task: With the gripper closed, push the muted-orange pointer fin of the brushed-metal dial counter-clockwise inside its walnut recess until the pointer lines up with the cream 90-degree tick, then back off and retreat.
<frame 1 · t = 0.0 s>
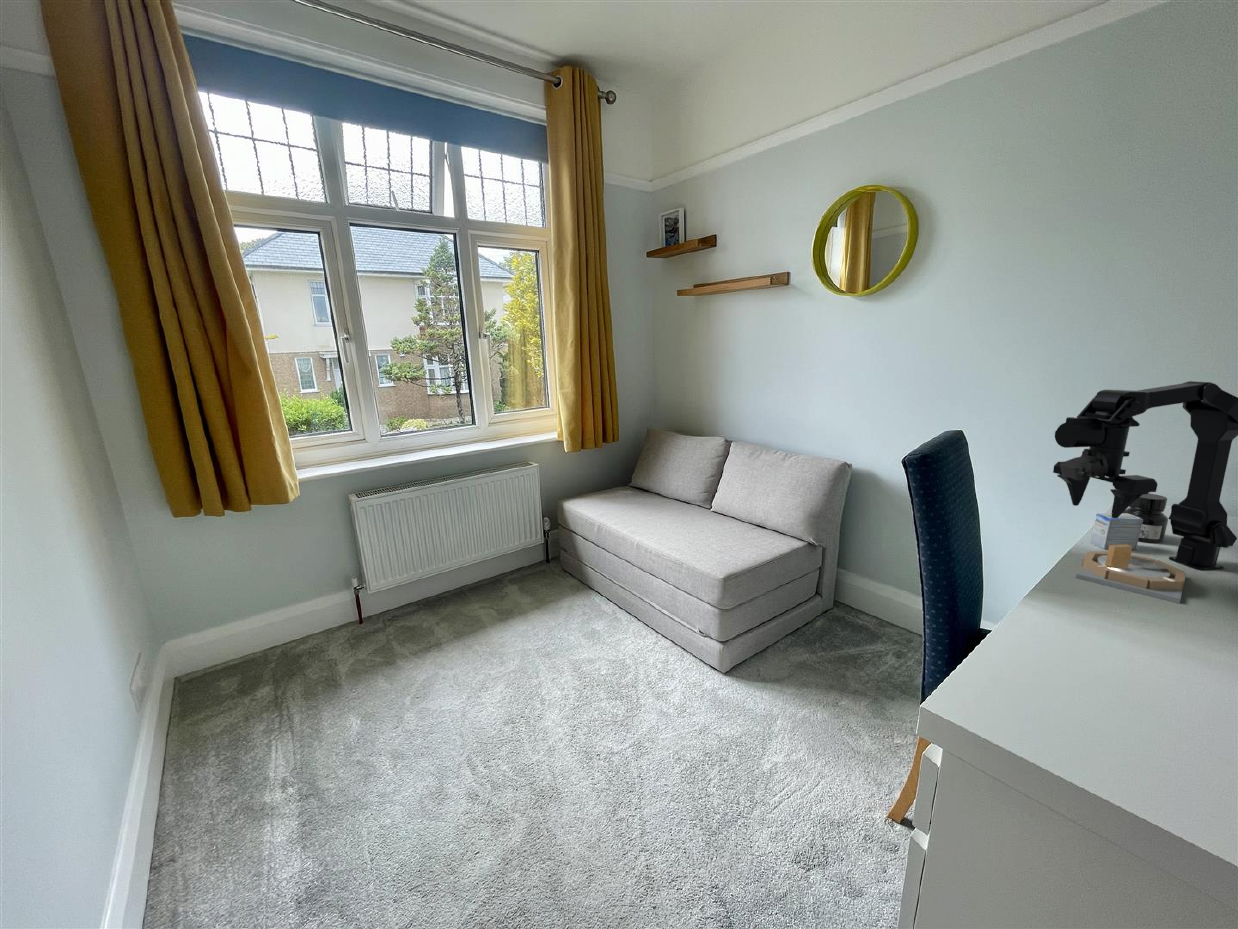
hand: (1094, 511, 114), 15 cm above the table, fingers open, 9 cm apart
ink bottle: (1139, 538, 135), on the table
dial plate: (1130, 577, 113), on the table
dial: (1133, 558, 112), point 5 cm above the table, hinge at 0.0°
medicine box: (1112, 547, 130), on the table
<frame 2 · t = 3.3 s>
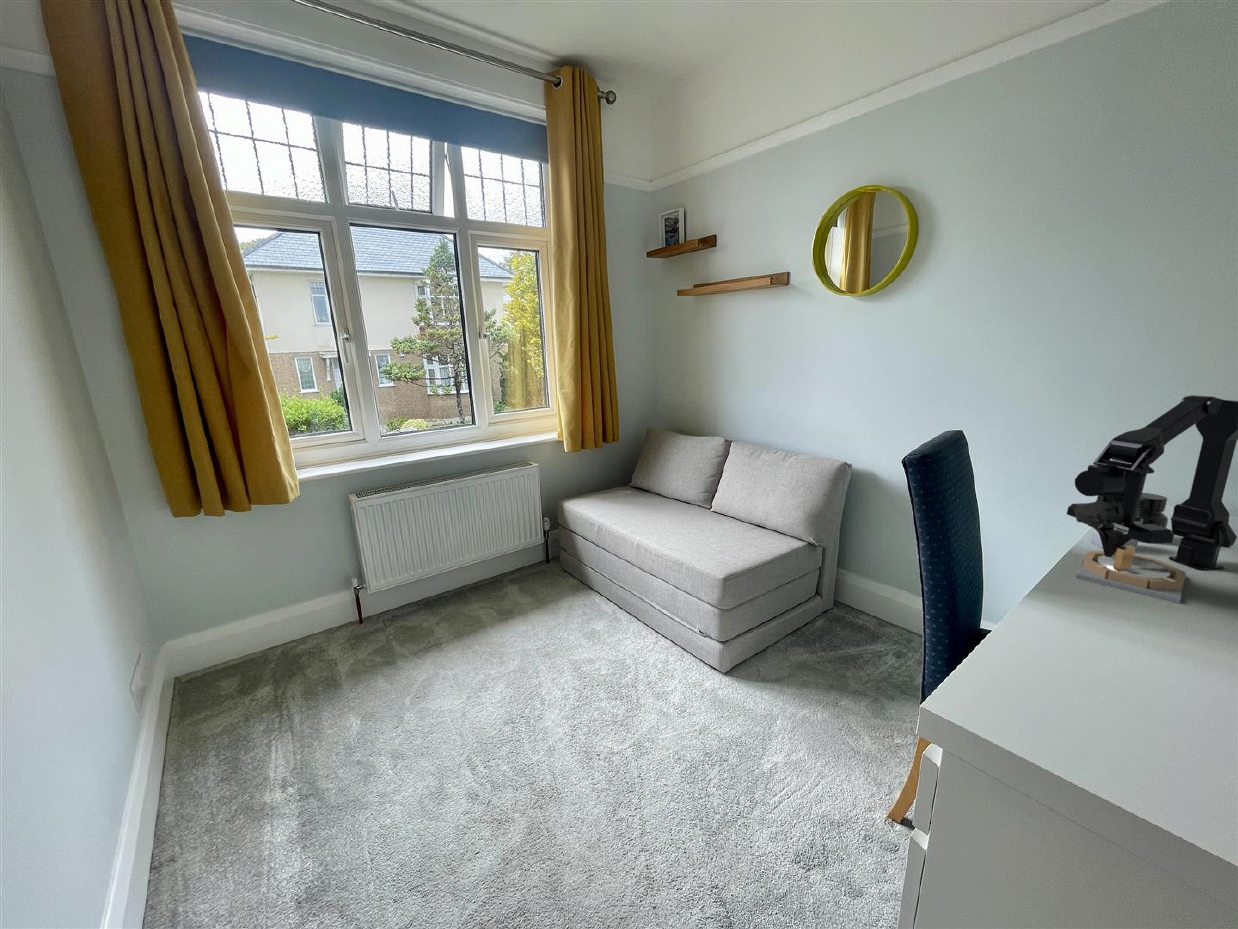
hand: (1108, 556, 113), 5 cm above the table, fingers closed
dial: (1134, 558, 112), point 5 cm above the table, hinge at 16.4°, touching gripper
everything else where it was.
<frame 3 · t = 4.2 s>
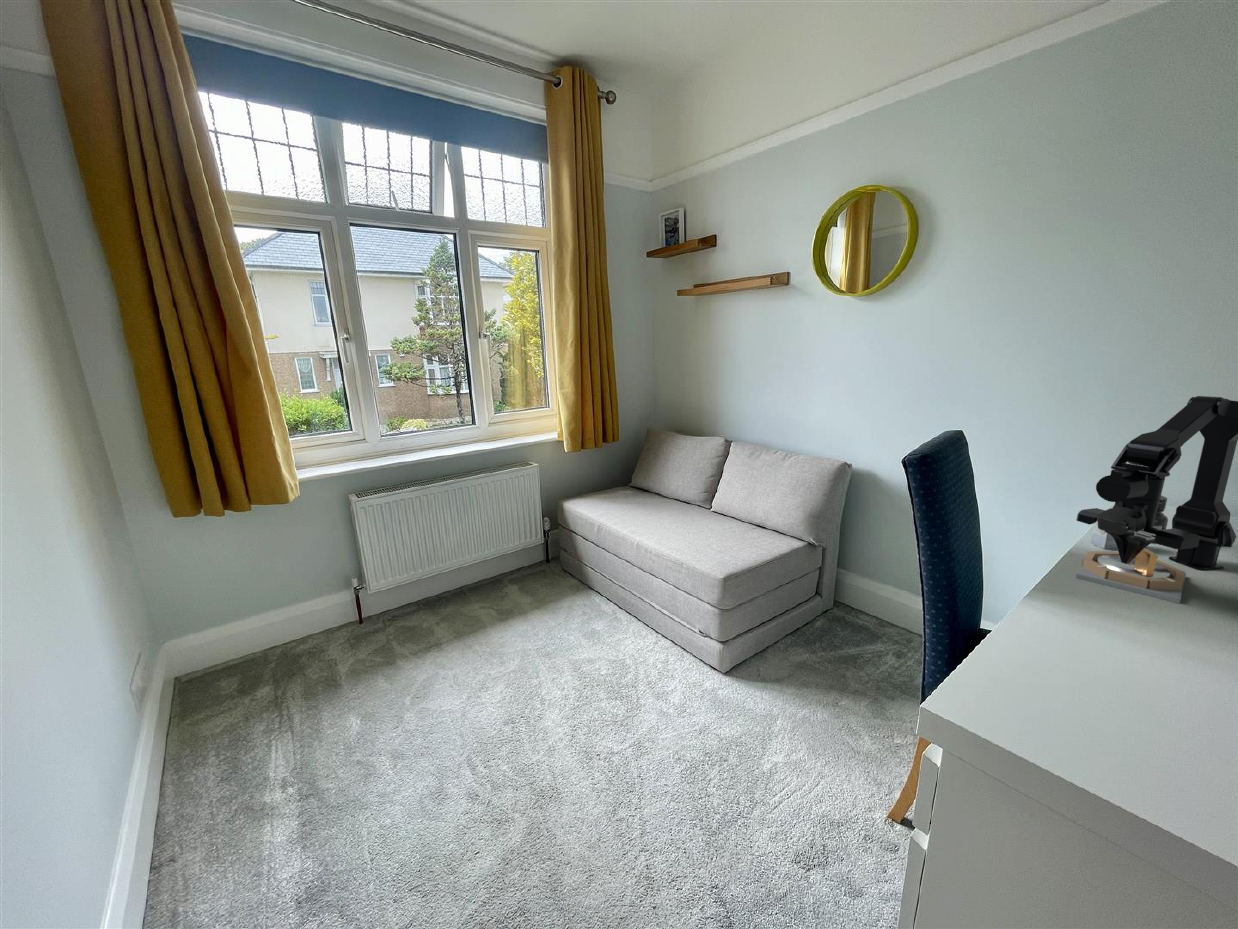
hand: (1125, 563, 110), 5 cm above the table, fingers closed
dial: (1134, 558, 112), point 5 cm above the table, hinge at 66.7°, touching gripper
everything else where it was.
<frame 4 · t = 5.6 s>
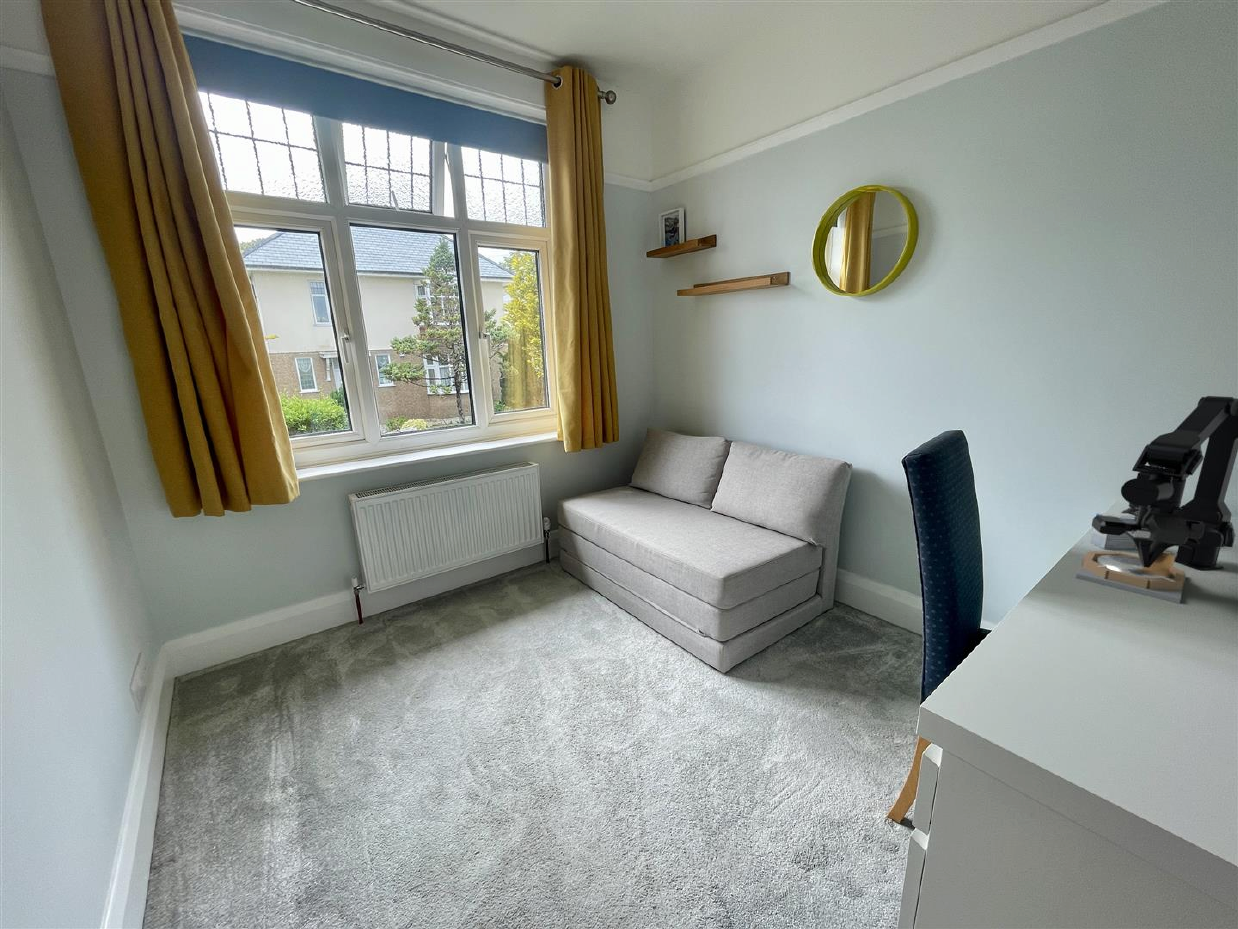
hand: (1145, 566, 108), 5 cm above the table, fingers closed
dial: (1134, 558, 112), point 5 cm above the table, hinge at 109.6°
everything else where it was.
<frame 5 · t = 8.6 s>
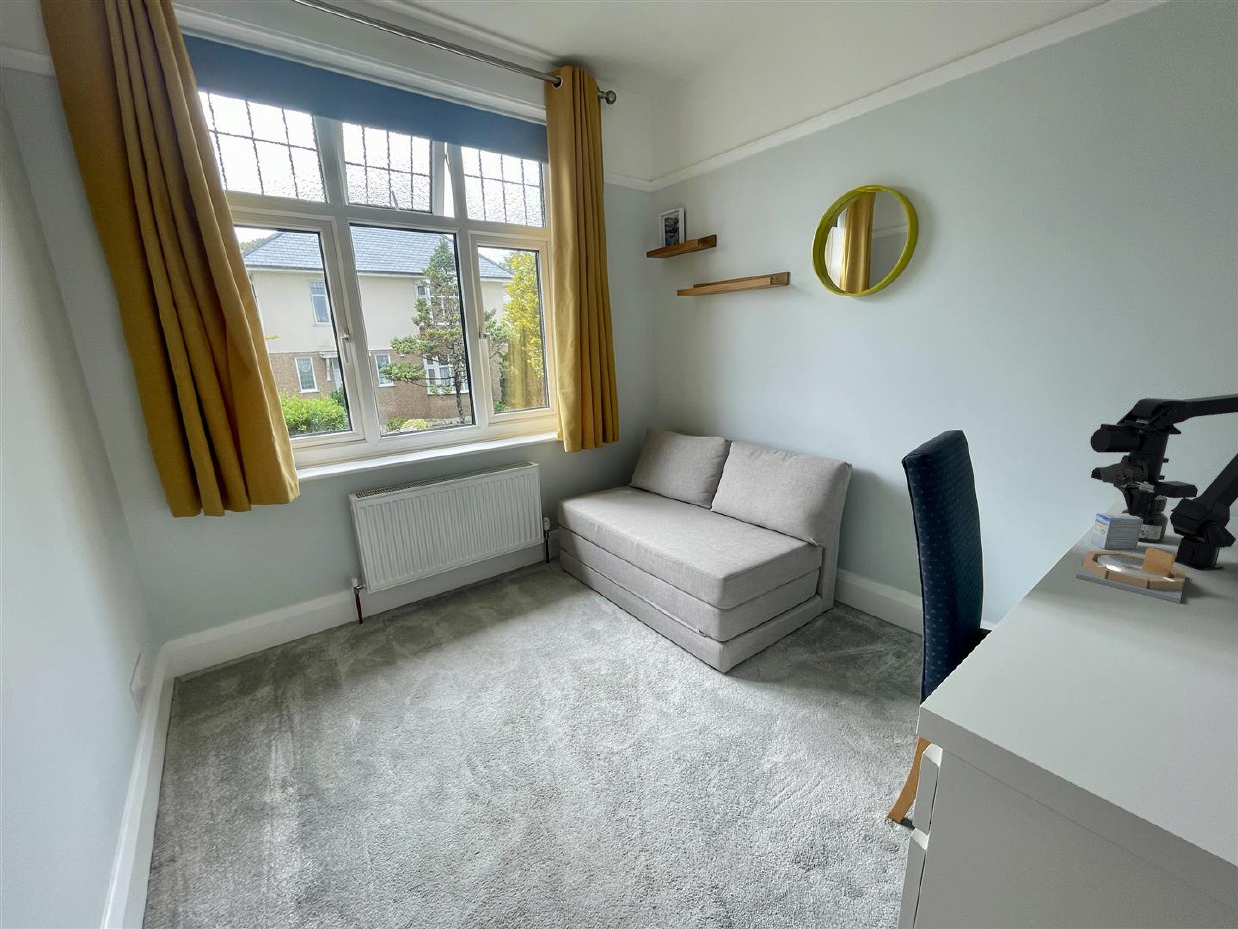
hand: (1132, 515, 118), 12 cm above the table, fingers closed
nothing on the table moved.
at the end: dial at +110° (first picture: +0°) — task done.
